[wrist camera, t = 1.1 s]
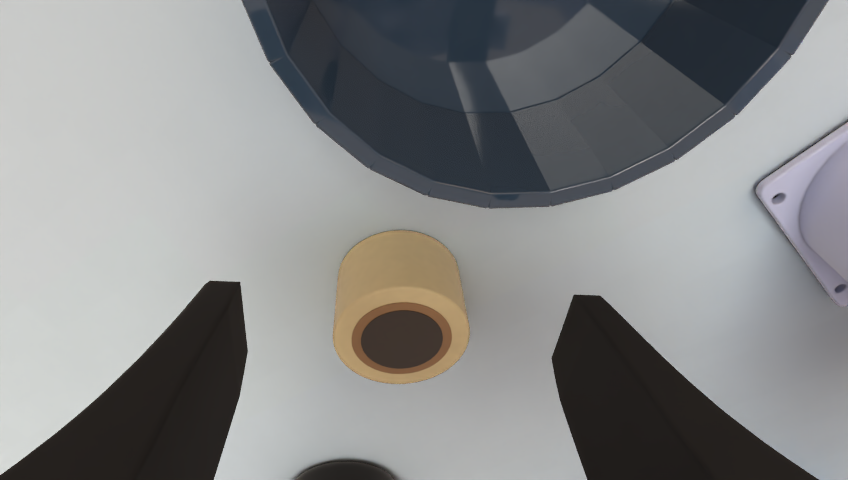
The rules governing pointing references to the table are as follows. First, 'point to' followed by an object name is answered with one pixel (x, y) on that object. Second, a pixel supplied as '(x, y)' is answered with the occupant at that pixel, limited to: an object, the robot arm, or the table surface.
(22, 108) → the table surface
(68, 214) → the table surface
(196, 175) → the table surface
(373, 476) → the supplement bottle
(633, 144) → the dark round bowl
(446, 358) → the tape roll
